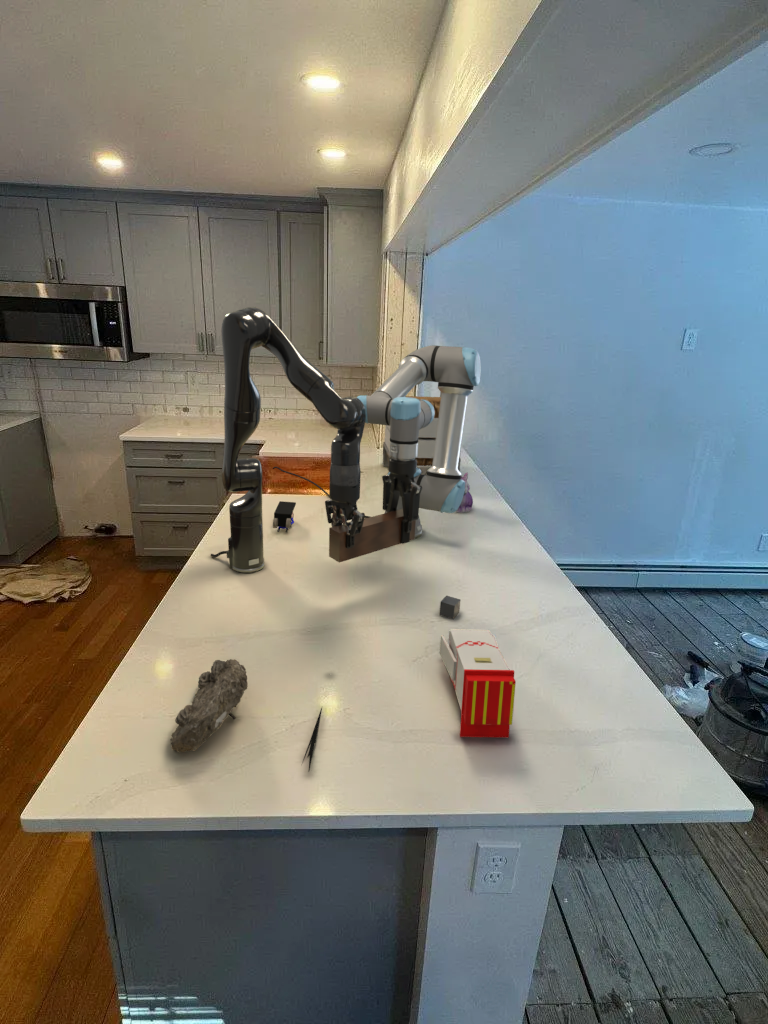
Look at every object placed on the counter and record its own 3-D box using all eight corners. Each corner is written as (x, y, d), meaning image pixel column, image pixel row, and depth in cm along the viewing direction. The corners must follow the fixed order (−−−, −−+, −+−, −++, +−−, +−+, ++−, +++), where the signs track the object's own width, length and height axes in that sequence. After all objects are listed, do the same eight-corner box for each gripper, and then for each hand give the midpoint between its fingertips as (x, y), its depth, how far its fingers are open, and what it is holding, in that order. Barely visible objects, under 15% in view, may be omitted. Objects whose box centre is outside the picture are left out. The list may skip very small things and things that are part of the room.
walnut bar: (339, 562, 142) (339, 533, 139) (328, 556, 145) (329, 527, 143) (414, 539, 158) (416, 512, 156) (403, 534, 161) (405, 508, 159)
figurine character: (291, 538, 195) (297, 518, 208) (291, 518, 192) (296, 500, 205) (272, 537, 195) (278, 518, 208) (271, 518, 191) (277, 499, 205)
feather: (331, 679, 122) (336, 673, 122) (307, 777, 96) (313, 769, 95) (324, 675, 122) (329, 669, 121) (298, 772, 95) (304, 764, 95)
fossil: (195, 660, 117) (247, 628, 112) (227, 691, 120) (279, 661, 115) (146, 746, 98) (206, 711, 93) (185, 779, 101) (245, 748, 96)
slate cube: (439, 615, 148) (440, 601, 147) (445, 608, 151) (446, 595, 150) (453, 619, 146) (454, 605, 145) (459, 612, 149) (460, 599, 148)
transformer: (381, 463, 289) (385, 382, 275) (444, 464, 292) (450, 384, 279) (389, 482, 257) (393, 392, 243) (459, 483, 261) (467, 394, 247)
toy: (489, 613, 130) (525, 677, 101) (485, 667, 133) (518, 744, 104) (437, 612, 130) (457, 676, 101) (434, 666, 133) (453, 743, 103)
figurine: (459, 514, 221) (463, 477, 216) (445, 506, 229) (448, 470, 224) (479, 511, 225) (483, 475, 220) (464, 503, 234) (467, 468, 228)
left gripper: (315, 475, 141) (315, 538, 147) (350, 490, 131) (348, 557, 137) (340, 471, 146) (338, 532, 152) (375, 484, 136) (372, 550, 142)
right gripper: (370, 452, 153) (368, 532, 161) (415, 467, 141) (410, 553, 149) (391, 448, 158) (388, 526, 166) (436, 463, 145) (430, 546, 153)
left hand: (343, 544), depth 144 cm, fingers closed on walnut bar, 4 cm apart
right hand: (398, 539), depth 157 cm, fingers closed on walnut bar, 4 cm apart
